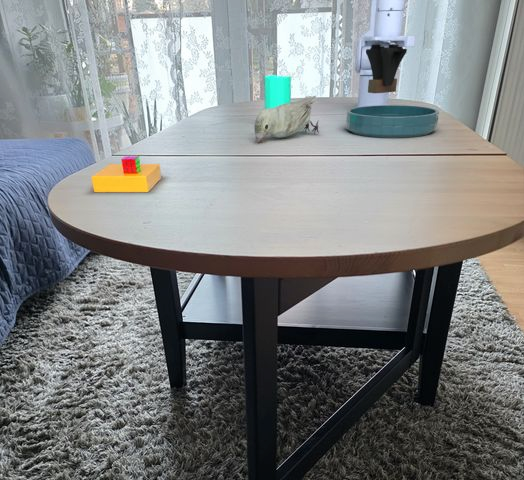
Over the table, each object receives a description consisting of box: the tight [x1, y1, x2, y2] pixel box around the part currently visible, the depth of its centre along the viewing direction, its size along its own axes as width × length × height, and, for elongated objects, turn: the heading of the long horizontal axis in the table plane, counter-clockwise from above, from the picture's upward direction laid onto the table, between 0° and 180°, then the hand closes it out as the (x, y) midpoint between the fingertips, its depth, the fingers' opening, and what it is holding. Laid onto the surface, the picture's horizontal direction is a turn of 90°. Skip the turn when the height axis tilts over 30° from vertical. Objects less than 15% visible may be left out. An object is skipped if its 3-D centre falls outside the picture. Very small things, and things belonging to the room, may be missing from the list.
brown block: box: [368, 77, 398, 94], centre depth 112 cm, size 6×3×3 cm, turn 120°
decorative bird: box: [253, 95, 320, 144], centre depth 105 cm, size 5×16×7 cm, turn 129°
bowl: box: [345, 104, 440, 139], centre depth 111 cm, size 19×19×4 cm
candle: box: [263, 68, 292, 110], centre depth 117 cm, size 6×6×12 cm
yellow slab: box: [91, 155, 162, 193], centre depth 75 cm, size 8×8×4 cm
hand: (382, 85), depth 112 cm, fingers closed on brown block, 2 cm apart
